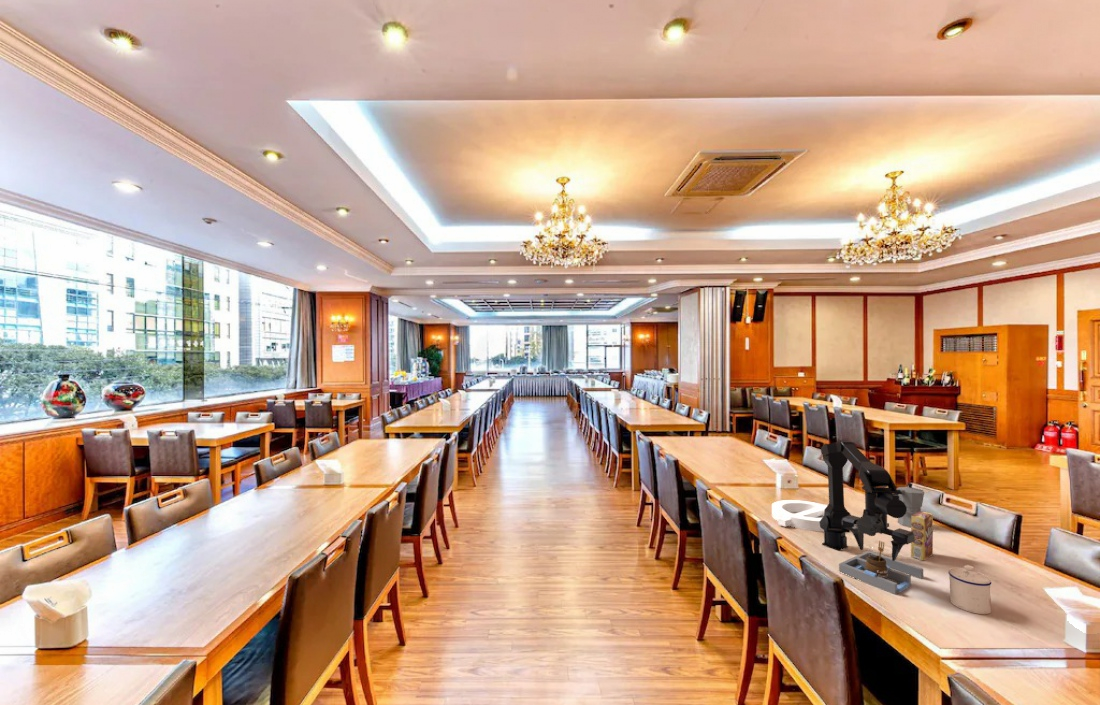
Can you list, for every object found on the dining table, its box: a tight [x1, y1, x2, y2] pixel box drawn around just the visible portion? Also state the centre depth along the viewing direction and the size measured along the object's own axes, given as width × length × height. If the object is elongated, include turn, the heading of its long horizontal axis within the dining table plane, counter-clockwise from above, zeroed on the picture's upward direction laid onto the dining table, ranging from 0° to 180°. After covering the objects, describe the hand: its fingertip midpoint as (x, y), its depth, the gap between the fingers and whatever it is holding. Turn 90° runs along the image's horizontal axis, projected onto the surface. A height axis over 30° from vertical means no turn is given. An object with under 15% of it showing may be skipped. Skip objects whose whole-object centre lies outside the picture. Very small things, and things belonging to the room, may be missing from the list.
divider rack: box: [838, 550, 924, 595], centre depth 146 cm, size 16×20×4 cm
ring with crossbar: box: [771, 499, 828, 533], centre depth 197 cm, size 28×28×5 cm
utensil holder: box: [864, 540, 889, 580], centre depth 143 cm, size 6×6×12 cm
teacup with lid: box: [947, 564, 992, 615], centre depth 129 cm, size 12×9×12 cm
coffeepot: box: [892, 482, 925, 528], centre depth 190 cm, size 15×9×18 cm, turn 102°
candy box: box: [910, 510, 934, 561], centre depth 160 cm, size 9×4×15 cm, turn 123°
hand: (877, 555), depth 143 cm, fingers open, 9 cm apart
